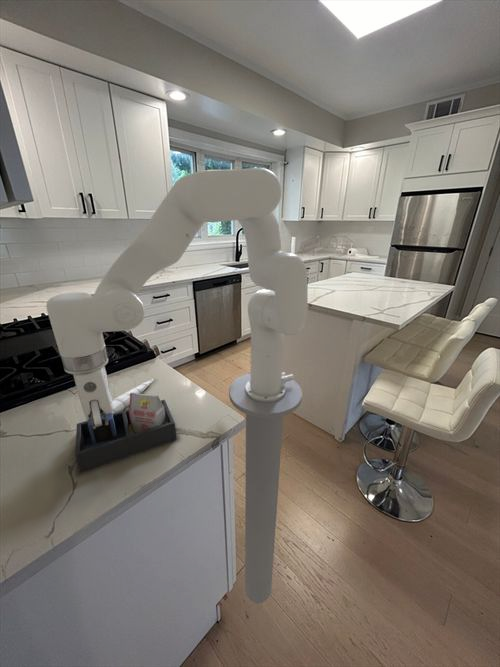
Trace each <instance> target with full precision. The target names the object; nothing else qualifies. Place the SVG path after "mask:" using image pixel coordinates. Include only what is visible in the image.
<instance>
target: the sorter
mask: <svg viewBox="0 0 500 667" xmlns="http://www.w3.org/2000/svg"><path fill="white" fill-rule="evenodd" d="M160 401H161V402H162V404H163V405H164V409H165V417H166V424H163V425H160V426H157V427H154V428H151V429H148V430H144V431H141V432H138V433H132V428H131V422H130V417H129V408H128V409H124V410H122V411H121V412H117V413H114V414H113V418H114V422H115V429H116V436H114V437H113V438H112V439H109V440H106V441H103V442H100V443H96V442H95V443H93V442H92V438H91V435H90V431H89V428H88V421H86V420H85V421H82V422H78V423H76V432H75V452H74V455H75V459H76V461H77V466H78V468H79V472H80V473H82V472H85V471H89V470H91V469H94V468H97V467H100V466H102V465H106V464H108V463H112V462H114V461H117V460H120V459H122V458H123V459H124V458H126V457H129V456H132V455H134V454H137V453H141V452H143V451H146V450H149V449H152V448H154V447H158V446H160V445H164V444H166V443H169V442H172V441H175V440H177V439H178V437H177V428H176V422H175V420H174V418H173V415H172V413H171V410H170V408H169V406H168V403H167V401H166V399H160Z"/></svg>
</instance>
